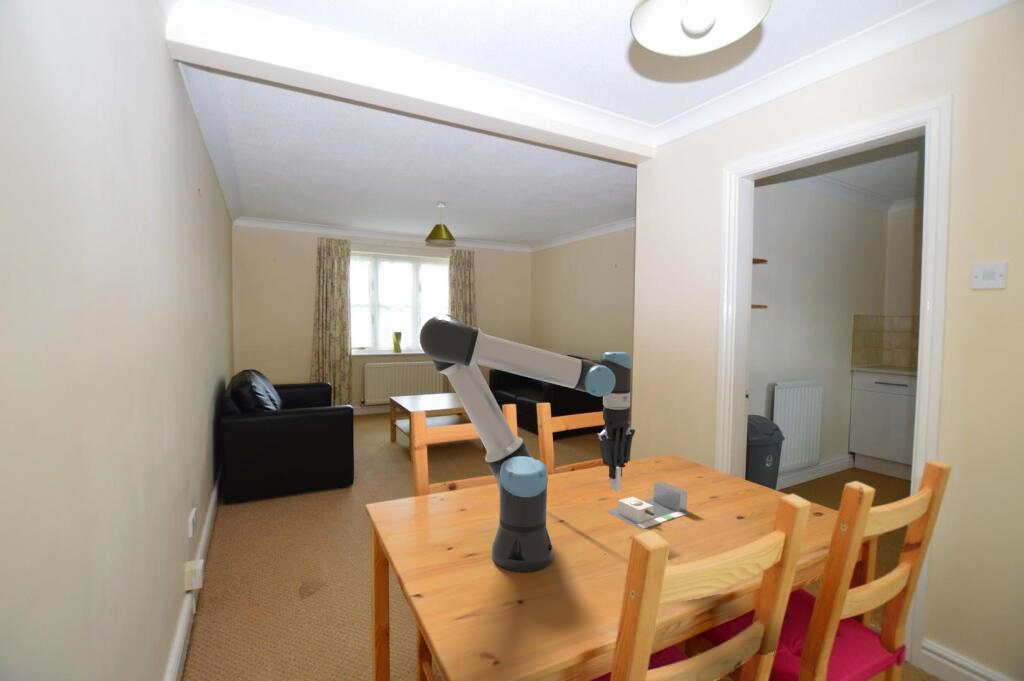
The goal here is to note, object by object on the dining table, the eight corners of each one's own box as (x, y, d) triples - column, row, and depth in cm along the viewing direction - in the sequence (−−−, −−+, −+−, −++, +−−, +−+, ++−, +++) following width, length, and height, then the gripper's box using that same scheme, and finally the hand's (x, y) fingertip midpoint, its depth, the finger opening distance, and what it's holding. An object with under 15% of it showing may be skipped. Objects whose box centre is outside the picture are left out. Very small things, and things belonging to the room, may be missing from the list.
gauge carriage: (645, 527, 130) (646, 512, 130) (618, 513, 139) (618, 499, 139) (660, 522, 133) (660, 508, 133) (632, 509, 142) (632, 495, 142)
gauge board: (641, 533, 129) (641, 528, 129) (606, 515, 141) (606, 510, 141) (692, 516, 141) (692, 511, 140) (655, 500, 152) (655, 496, 152)
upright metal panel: (679, 512, 140) (680, 493, 140) (653, 501, 149) (654, 482, 149) (686, 510, 142) (687, 491, 142) (660, 499, 151) (660, 481, 150)
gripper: (608, 411, 124) (607, 498, 125) (642, 406, 131) (641, 488, 132) (589, 406, 131) (589, 489, 132) (623, 402, 138) (622, 480, 139)
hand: (615, 489), depth 132 cm, fingers closed
